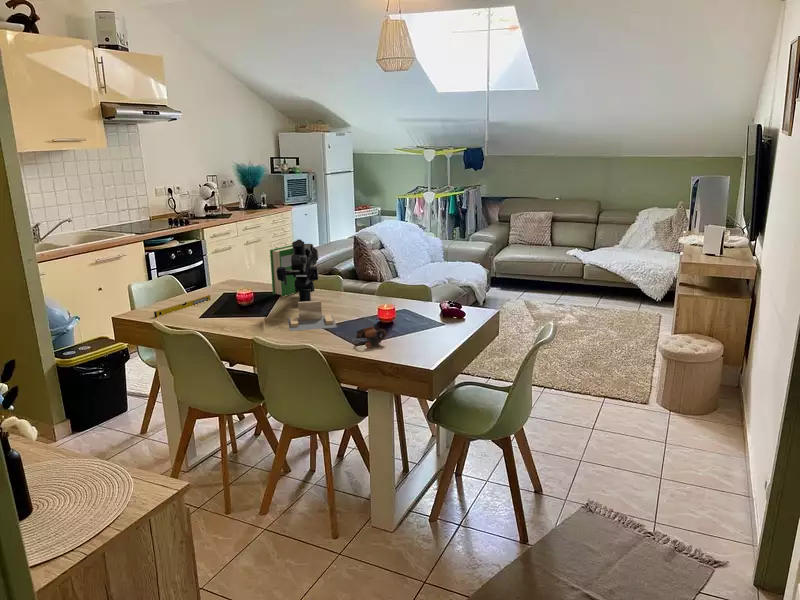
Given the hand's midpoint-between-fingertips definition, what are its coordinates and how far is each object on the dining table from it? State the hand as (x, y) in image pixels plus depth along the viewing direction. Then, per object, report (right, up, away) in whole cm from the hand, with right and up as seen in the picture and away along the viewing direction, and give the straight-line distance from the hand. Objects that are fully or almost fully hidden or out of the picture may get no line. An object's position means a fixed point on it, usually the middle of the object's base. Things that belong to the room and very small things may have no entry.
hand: (295, 284), depth 273 cm
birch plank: (+7, -16, -2) cm, 17 cm away
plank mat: (+8, -18, -7) cm, 21 cm away
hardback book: (-11, -3, +49) cm, 51 cm away
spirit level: (-58, -12, +21) cm, 63 cm away
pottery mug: (+36, -25, -32) cm, 54 cm away
